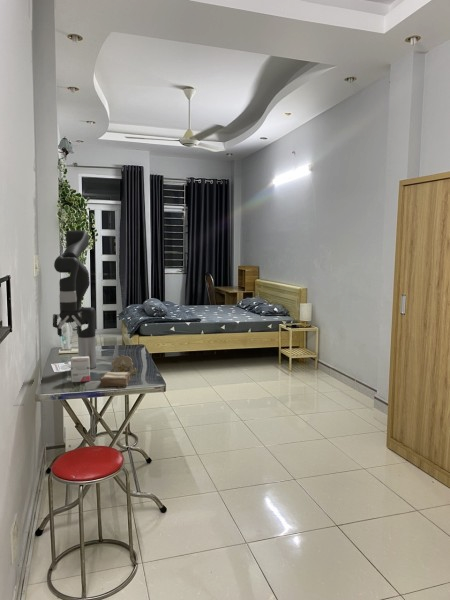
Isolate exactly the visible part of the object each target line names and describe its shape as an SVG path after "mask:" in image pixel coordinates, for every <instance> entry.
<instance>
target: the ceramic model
mask: <svg viewBox="0 0 450 600" xmlns="http://www.w3.org/2000/svg"><path fill="white" fill-rule="evenodd" d="M111 366H112V369H111V370H110V371H109V372H130V373H131V376H132V375H137V373H138V372H137V367H134V363H133V359H132V357H130V356H128V355H124V354H120V356H119V355H118V356H116V357H115V358H114V359H113V360H112V361H111Z"/></svg>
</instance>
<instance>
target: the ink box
mask: <svg viewBox="0 0 450 600" xmlns="http://www.w3.org/2000/svg"><path fill="white" fill-rule="evenodd" d="M70 377H71V378H70V379H71V380H70V381H71V383H81V382H90V381H91V369H90V361H89V356H85V357H78V356H72V357H71V358H70Z"/></svg>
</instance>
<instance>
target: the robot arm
mask: <svg viewBox="0 0 450 600" xmlns="http://www.w3.org/2000/svg"><path fill="white" fill-rule="evenodd" d="M89 236H90V235H89V232H87V231H86V230H83V229H82V230H80V229H79V230H67V231H66V232H65V244H66V249H64V251H63V253H62V254H60V255H58V256H57V257H56V258H55V260H54V263H53V267H54V270H55V271H56V272H57V273H63V274H64V273H65V274H67V273H70V274H69V275H68V276H67V277H63V278H60V279H59V282H58V283H59V284H58V285H59V296H58V297H59V314H56V313H55V314H52V327H53V328H55V329H57V336H59V337H62V336H63V329H62V328H63V326H64V325H65V323H66V324H67V323H75V325H76V334H77V349H78V350H77V352H78V354H77V355H78V356H77V357H85V356H89V361H90V370H92V369H94V368H96V367H97V349H96V348H97V347H96V346H97V344H96V343H97V342H96V341H97V340H96V330H97V329H96V328H97V327H96V325H97V323H96V319H97V313H96V309H95V308H94V307H92V306H91V307H90V306H88V307H87V306H82V301H83V298H84V296H85V294H86V292H87V291H88V289H89V286H90V283H91V282H90V273H89V270H88V269H87V267H86V266H85V265H84V263H83V262H82V261H81V260H80V258H79V257H80V255H81V254H82V253H83V252H84V251H85V250H86V249H87V248H88V246H89V244H90V237H89ZM58 319H60V320H59V321H58ZM83 325H87V327H86V328H84V329H82V326H83Z"/></svg>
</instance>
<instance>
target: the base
mask: <svg viewBox="0 0 450 600" xmlns="http://www.w3.org/2000/svg"><path fill="white" fill-rule="evenodd" d="M131 377H132V375H131V373H130V372H110V371H107V372H104V374H103V375H102V376H101V378H100V380H99V381H100V387H127V386H128V384H129V383H130V381H131V380H132V379H131ZM126 385H127V386H126Z"/></svg>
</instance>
